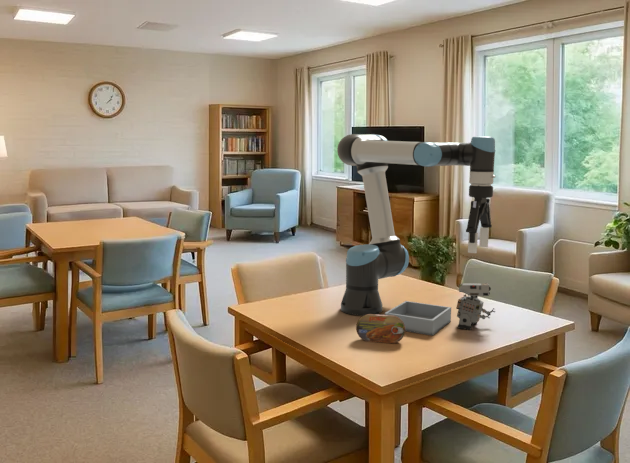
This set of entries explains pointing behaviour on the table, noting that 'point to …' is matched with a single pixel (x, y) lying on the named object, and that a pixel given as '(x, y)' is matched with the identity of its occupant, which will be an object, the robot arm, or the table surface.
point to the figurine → (471, 304)
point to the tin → (380, 328)
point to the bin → (422, 317)
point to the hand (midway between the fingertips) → (478, 249)
